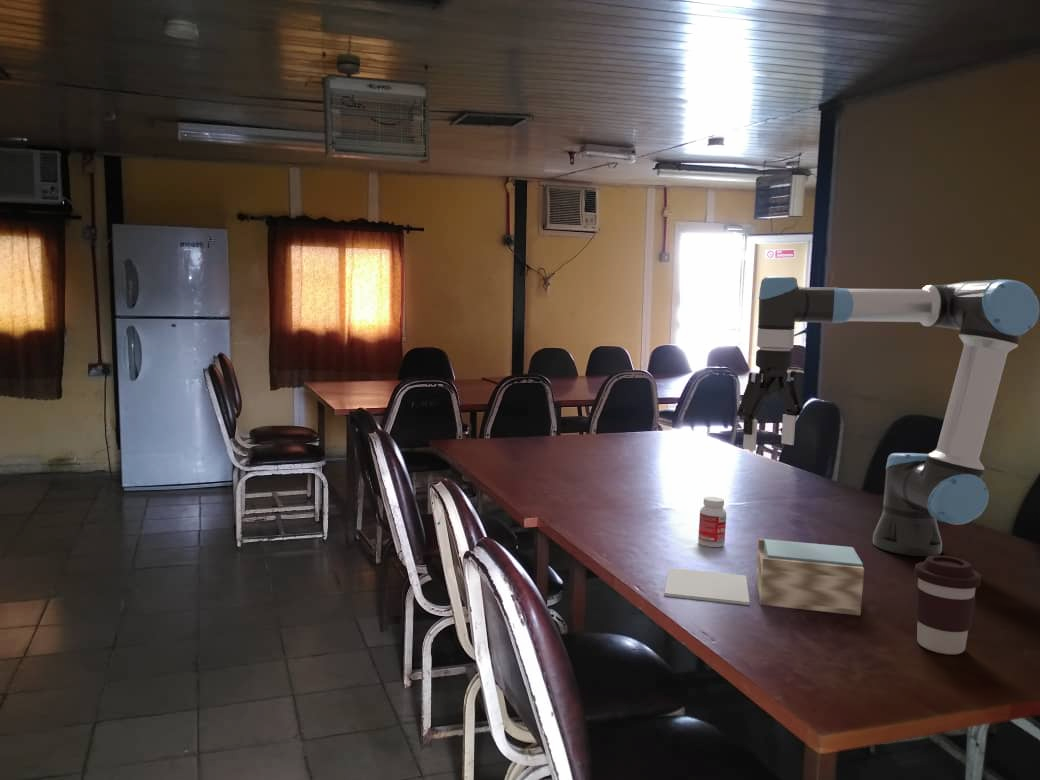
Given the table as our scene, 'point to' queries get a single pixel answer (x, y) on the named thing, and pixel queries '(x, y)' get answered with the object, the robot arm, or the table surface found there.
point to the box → (809, 584)
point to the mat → (707, 586)
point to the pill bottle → (712, 523)
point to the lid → (811, 552)
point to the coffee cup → (945, 603)
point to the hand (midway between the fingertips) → (768, 447)
